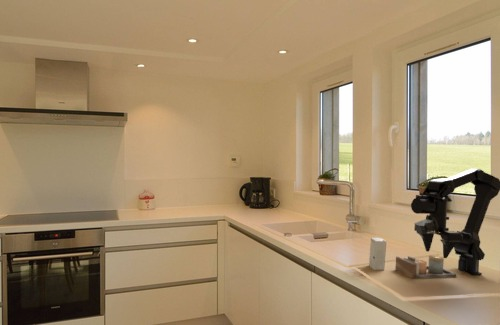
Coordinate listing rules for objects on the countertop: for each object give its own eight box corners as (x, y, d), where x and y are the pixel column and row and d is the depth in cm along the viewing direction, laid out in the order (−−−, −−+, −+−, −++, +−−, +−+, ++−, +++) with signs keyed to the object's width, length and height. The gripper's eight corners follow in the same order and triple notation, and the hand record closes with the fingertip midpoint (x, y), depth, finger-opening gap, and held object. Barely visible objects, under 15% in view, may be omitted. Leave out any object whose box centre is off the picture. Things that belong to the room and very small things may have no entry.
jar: (420, 271, 135) (420, 259, 135) (429, 275, 130) (429, 263, 130) (408, 271, 134) (408, 259, 134) (417, 275, 129) (417, 263, 129)
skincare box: (368, 267, 140) (369, 237, 140) (379, 268, 140) (380, 237, 140) (373, 272, 134) (374, 240, 134) (385, 273, 134) (386, 241, 134)
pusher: (405, 270, 135) (406, 254, 135) (418, 276, 128) (419, 260, 128) (403, 270, 135) (404, 254, 135) (416, 276, 128) (416, 260, 127)
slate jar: (436, 270, 136) (437, 255, 136) (446, 274, 131) (446, 258, 131) (425, 270, 135) (425, 255, 135) (434, 275, 130) (435, 258, 130)
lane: (436, 270, 139) (436, 255, 139) (455, 279, 129) (456, 263, 129) (395, 272, 136) (396, 256, 135) (412, 281, 126) (413, 264, 126)
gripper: (403, 209, 141) (401, 248, 141) (437, 217, 122) (435, 262, 122) (427, 209, 143) (426, 248, 143) (464, 217, 125) (462, 261, 125)
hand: (436, 254), depth 133 cm, fingers open, 9 cm apart
